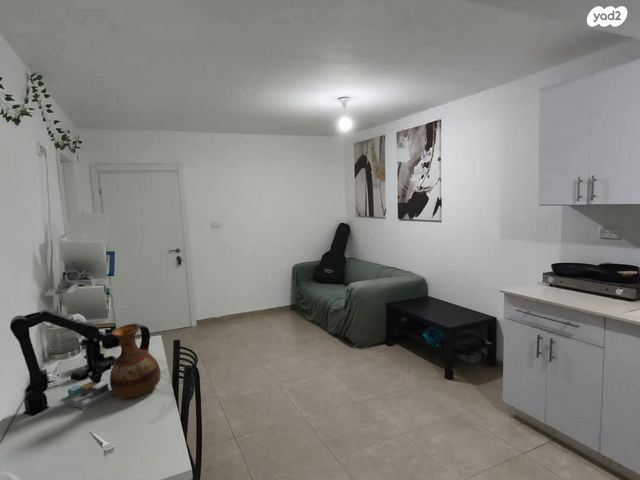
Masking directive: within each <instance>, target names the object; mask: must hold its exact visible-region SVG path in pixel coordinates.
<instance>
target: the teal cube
mask: <svg viewBox="0 0 640 480" xmlns="http://www.w3.org/2000/svg"><path fill="white" fill-rule="evenodd" d="M81 386H82V385H79V384H78V385H77V384H75V385H74V386H72V387H70V388H68V389H67V395H68V398H72V397H74V396H75V395H77V394H79V393H81V388H80V387H81Z"/></svg>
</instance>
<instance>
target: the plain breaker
mask: <svg viewBox="0 0 640 480" xmlns="http://www.w3.org/2000/svg"><path fill="white" fill-rule="evenodd" d="M108 390H110V389H109V383H107V382H104V381H100V383H98V384H96V385H94V386H92V393H93V395H98V396H99V395H101V394H103V393H105V392H106V391H108Z"/></svg>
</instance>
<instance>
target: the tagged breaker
mask: <svg viewBox="0 0 640 480" xmlns="http://www.w3.org/2000/svg"><path fill="white" fill-rule="evenodd" d="M96 384H97V383H94V382H92V381H88V382H87V383H84V384H83V385H80V386H81V387H80V388H81V394H83V395H89V394H91V393H92V386H94V385H96Z"/></svg>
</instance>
